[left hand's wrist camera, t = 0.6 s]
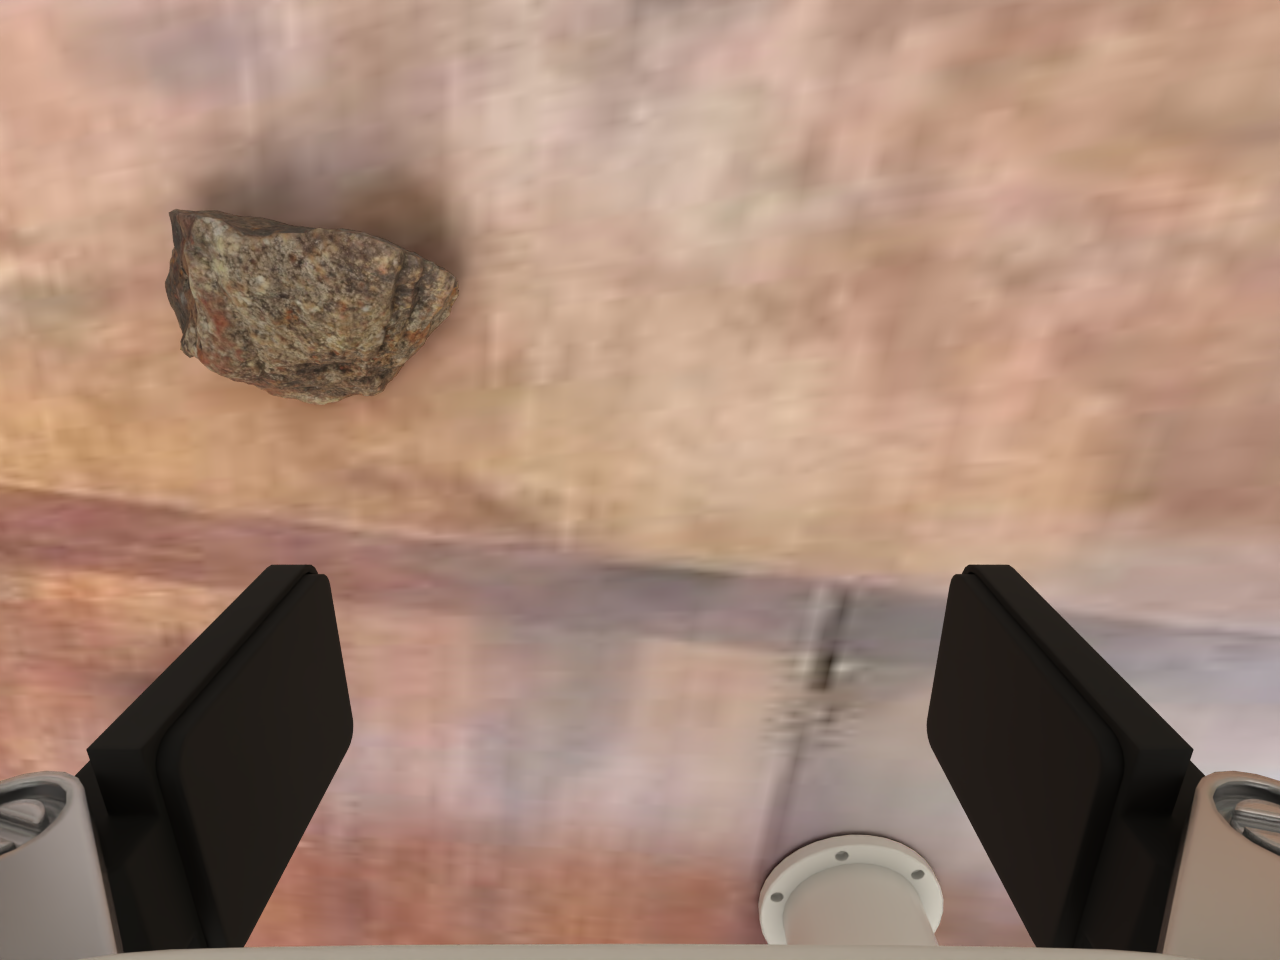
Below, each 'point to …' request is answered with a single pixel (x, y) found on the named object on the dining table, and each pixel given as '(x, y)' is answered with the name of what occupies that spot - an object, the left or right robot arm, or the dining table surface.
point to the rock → (301, 304)
